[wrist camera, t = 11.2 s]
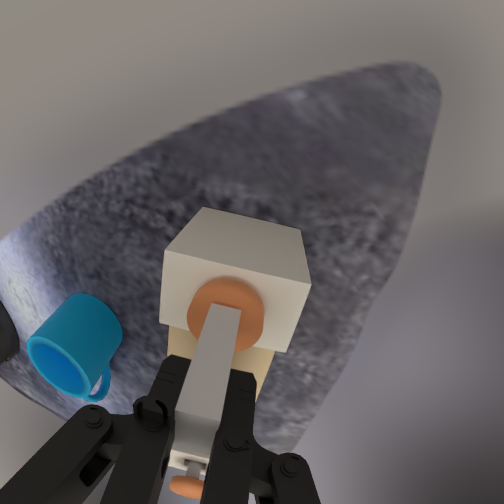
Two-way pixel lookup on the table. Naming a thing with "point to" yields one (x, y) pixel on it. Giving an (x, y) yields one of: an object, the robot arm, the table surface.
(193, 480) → the plunger
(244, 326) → the plunger
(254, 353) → the block
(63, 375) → the mug
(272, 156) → the table surface
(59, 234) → the table surface
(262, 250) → the cabinet
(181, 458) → the cabinet
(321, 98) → the table surface
